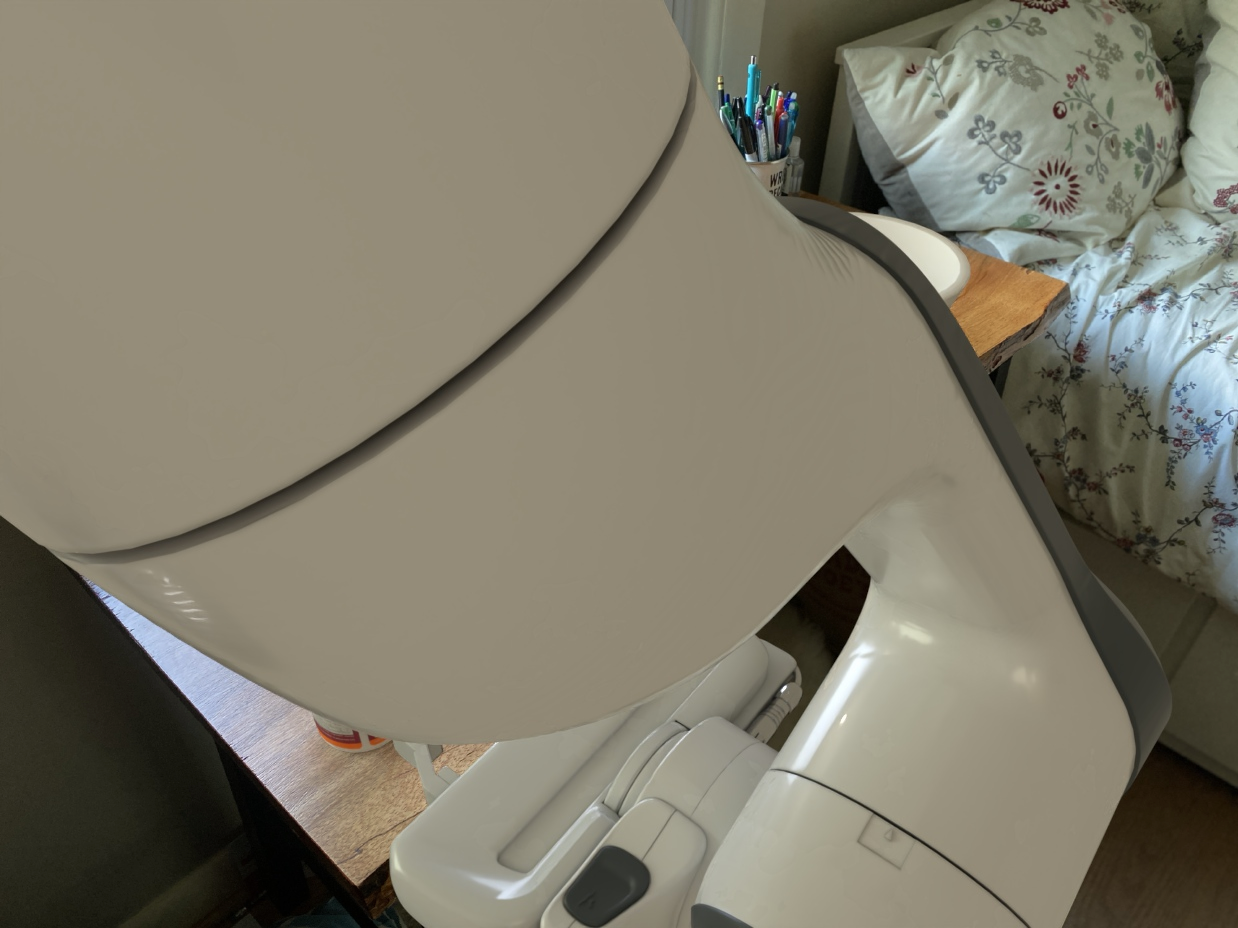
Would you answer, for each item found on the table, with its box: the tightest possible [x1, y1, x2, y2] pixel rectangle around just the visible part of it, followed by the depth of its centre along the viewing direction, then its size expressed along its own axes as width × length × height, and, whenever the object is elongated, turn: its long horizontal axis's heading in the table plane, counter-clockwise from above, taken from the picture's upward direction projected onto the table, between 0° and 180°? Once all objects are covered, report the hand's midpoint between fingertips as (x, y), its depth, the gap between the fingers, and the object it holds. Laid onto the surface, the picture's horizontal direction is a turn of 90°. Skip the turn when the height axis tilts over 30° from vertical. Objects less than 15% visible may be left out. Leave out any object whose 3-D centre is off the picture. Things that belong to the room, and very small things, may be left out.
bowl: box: [848, 211, 971, 310], centre depth 99 cm, size 22×22×8 cm
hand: (475, 668), depth 47 cm, fingers open, 8 cm apart
